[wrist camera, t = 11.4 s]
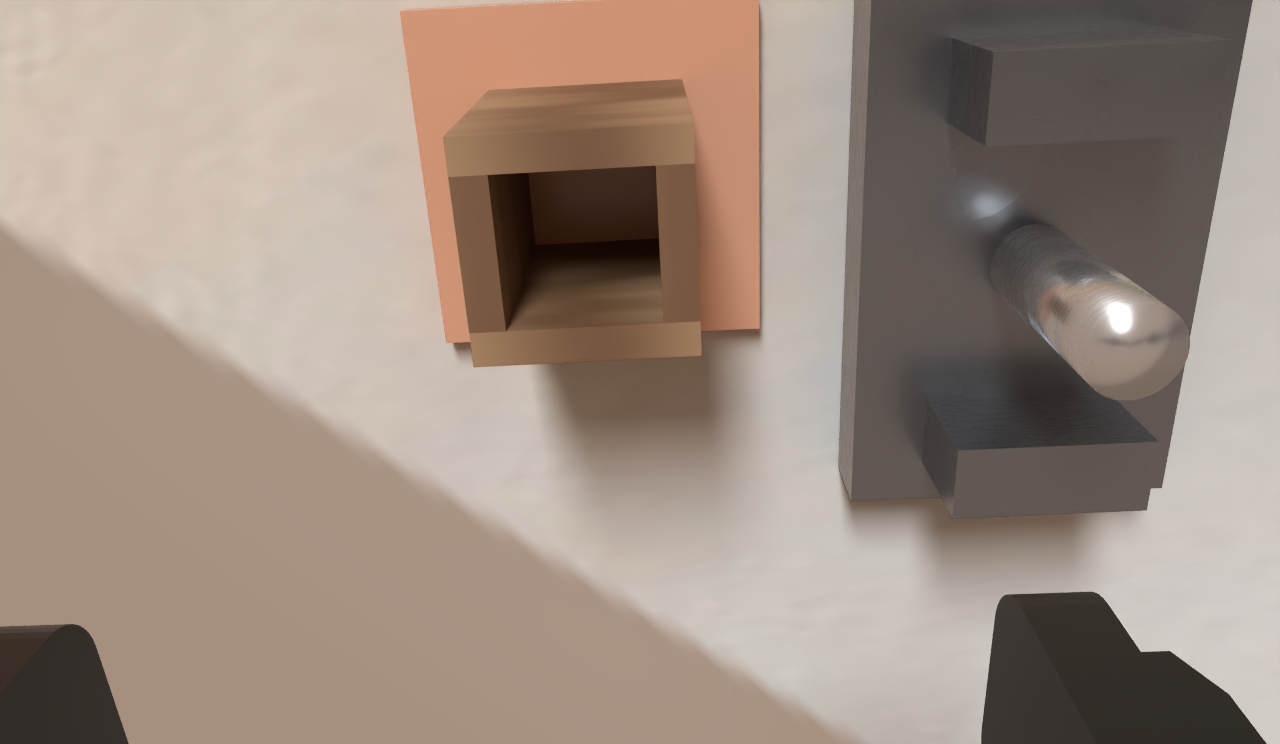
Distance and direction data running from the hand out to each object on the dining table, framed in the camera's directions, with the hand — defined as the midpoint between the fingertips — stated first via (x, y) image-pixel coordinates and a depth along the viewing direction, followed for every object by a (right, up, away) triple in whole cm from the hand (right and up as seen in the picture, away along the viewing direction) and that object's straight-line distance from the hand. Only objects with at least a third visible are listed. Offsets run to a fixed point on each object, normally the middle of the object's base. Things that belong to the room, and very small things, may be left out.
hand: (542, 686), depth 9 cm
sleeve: (0, +8, +18) cm, 20 cm away
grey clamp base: (+11, +6, +19) cm, 23 cm away
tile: (0, +8, +18) cm, 20 cm away
